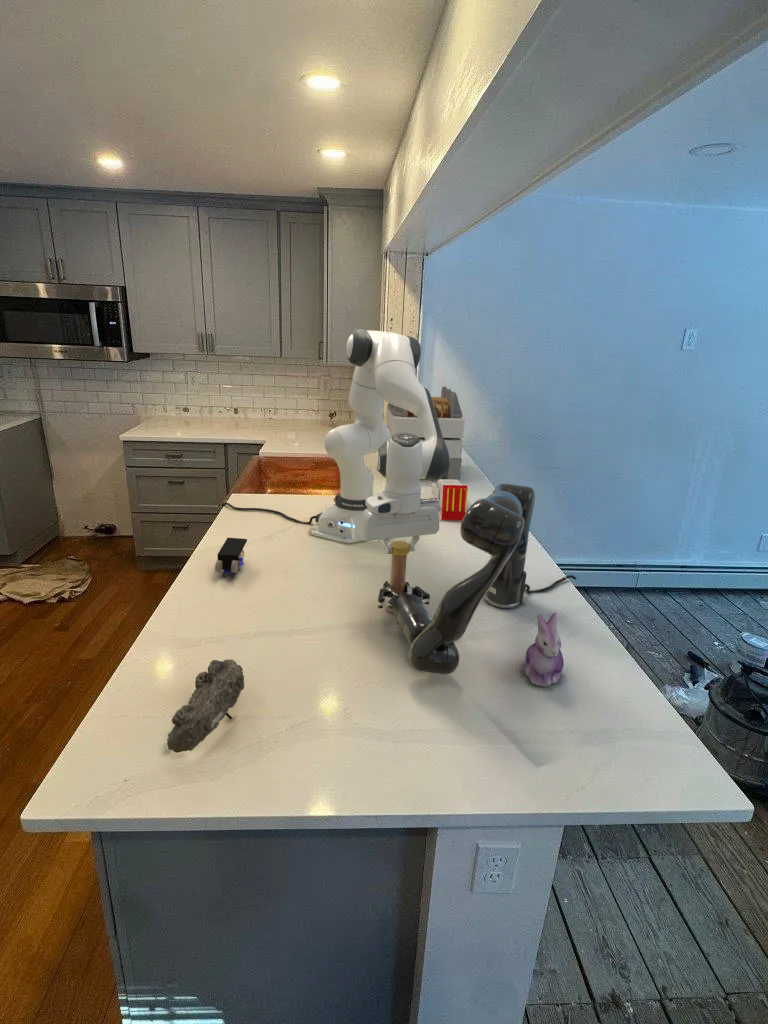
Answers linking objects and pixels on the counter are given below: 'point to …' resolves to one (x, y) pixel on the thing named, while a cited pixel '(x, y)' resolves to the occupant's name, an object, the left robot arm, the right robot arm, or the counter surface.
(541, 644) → the figurine
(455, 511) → the toy
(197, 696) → the fossil
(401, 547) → the lid
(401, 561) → the bottle
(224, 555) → the black toy vehicle
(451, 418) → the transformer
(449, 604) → the right robot arm
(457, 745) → the counter surface
